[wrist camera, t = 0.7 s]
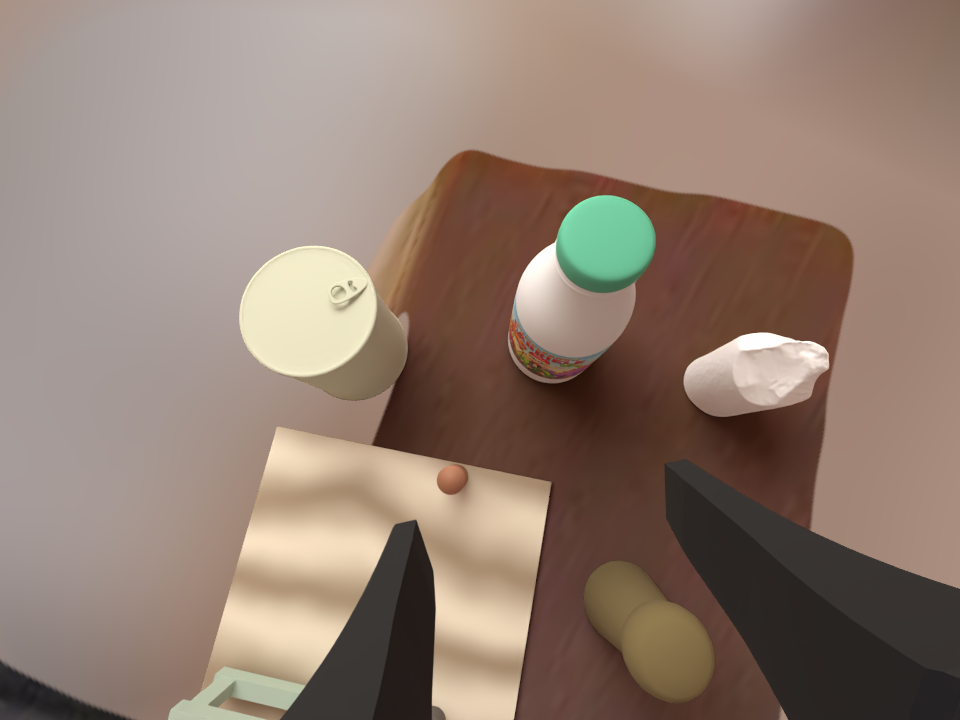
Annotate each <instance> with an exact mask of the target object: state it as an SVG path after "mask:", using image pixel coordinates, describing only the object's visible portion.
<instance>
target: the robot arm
mask: <svg viewBox="0 0 960 720" xmlns="http://www.w3.org/2000/svg"><path fill="white" fill-rule="evenodd" d="M665 493H666V519H667V521H668V523H669V525H670V526H671V528H672V530H673V532H674V534H675V536H676V538H677V540H678V542H679V544H680V545H681V547H682V549H683V551H684V553H685V554H686V556H687V557H688V559H689V560H690V562H691V563H692V565H693V566H694V567H695V569H696V570H697V572H698V573H699V575H700V576H701V578H702V579H703V581H704V582H705V584H706V585H707V586H708V588H709V589H710V591H711V592H712V594H713V595H714V597H715V598H716V599H717V601H718V602H719V604H720V605H721V607H722V608H723V610H724V611H725V613H726V614H727V615H728V617H729V618H730V620H731V621H732V623H733V624H734V626H735V627H736V629H737V630H738V632H739V633H740V635H741V636H742V638H743V640H744V641H745V643H746V644H747V646H748V648H749V650H750V651H751V653H752V655H753V657H754V658H755V660H756V662H757V664H758V665H759V667H760V669H761V671H762V672H763V674H764V676H765V678H766V679H767V681H768V683H769V685H770V687H771V688H772V690H773V692H774V694H775V696H776V698H777V699H778V701H779V703H780V705H781V707H782V709H783V710H784V712H785V714H786V716H787V718H788V720H960V589H958V588H955V587H952V586H949V585H946V584H943V583H940V582H937V581H934V580H931V579H928V578H925V577H922V576H919V575H916V574H913V573H911V572H908V571H905V570H902V569H899V568H897V567H894V566H892V565H889V564H887V563H884V562H881V561H879V560H876V559H873V558H871V557H868V556H866V555H863V554H861V553H859V552H856V551H854V550H852V549H849V548H847V547H845V546H842V545H840V544H838V543H836V542H834V541H831V540H829V539H827V538H825V537H823V536H820V535H818V534H816V533H814V532H812V531H810V530H808V529H806V528H804V527H802V526H800V525H798V524H796V523H794V522H792V521H790V520H788V519H786V518H784V517H782V516H780V515H779V514H777V513H775V512H773V511H771V510H769V509H768V508H766V507H764V506H762V505H760V504H759V503H757V502H755V501H753V500H752V499H750V498H748V497H747V496H745V495H743V494H741V493H740V492H738V491H736V490H735V489H733V488H731V487H730V486H728V485H727V484H725V483H723V482H722V481H720V480H718V479H717V478H715V477H714V476H712V475H710V474H709V473H707V472H706V471H704V470H702V469H701V468H699V467H698V466H696V465H694V464H693V463H691V462H689V461H688V460H686V459H684V460H680V461H675V462H671V463H666V464H665ZM435 618H436V601H435V585H434V571H433V568H432V565H431V562H430V559H429V556H428V553H427V550H426V547H425V544H424V541H423V538H422V535H421V532H420V529H419V526H418V523H417V520H412V521H407V522H403V523H398V524H395V525H394V527H393V528H392V531H391V533H390V535H389V538H388V540H387V543H386V545H385V547H384V550H383V552H382V554H381V556H380V559H379V561H378V563H377V565H376V567H375V569H374V571H373V574H372V576H371V578H370V580H369V582H368V584H367V586H366V588H365V590H364V592H363V594H362V596H361V598H360V599H359V601H358V603H357V605H356V607H355V609H354V610H353V612H352V614H351V616H350V618H349V619H348V621H347V623H346V625H345V626H344V628H343V630H342V632H341V633H340V635H339V637H338V638H337V640H336V641H335V643H334V645H333V646H332V648H331V649H330V651H329V652H328V654H327V655H326V657H325V659H324V660H323V662H322V663H321V665H320V666H319V667H318V669H317V670H316V672H315V673H314V675H313V676H312V677H311V679H310V680H309V682H308V683H307V684H306V686H305V687H304V689H303V690H302V692H301V693H300V694H299V696H298V697H297V698H296V700H295V701H294V702H293V704H292V705H291V706H290V707H289V709H288V710H287V711H286V712H285V714H284V715H283V716H282V717H281V719H280V720H432V687H433V665H434V642H435Z"/></svg>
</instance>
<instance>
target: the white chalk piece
mask: <svg viewBox="0 0 960 720" xmlns="http://www.w3.org/2000/svg"><path fill="white" fill-rule="evenodd" d="M828 359H829V354H828V352H827V351H826V349H825V348H824V347H822V346H820V345H818V344H816V343H814V342H810V341H804V342H801V341H795V340H793V339H790V338H786V337H782V336H779V335H775V334H771V333H753V334H747V335H743V336H740V337H738V338H736V339H735V340H733V341H731V342H729V343H728V344H726V345H724V346H722V347H720V348H718V349H716V350H715V351H713V352H711V353H709V354H707V355H705V356H702V357H700V358H698V359H696V360H695V361H693V362H692V363H691V364H690V365H689V366H688V367H687V369H686V372H685V375H684V389H685V392H686V394H687V396H688V397H689V399H690V400H691V401H692V402H693V404H694V405H696V406H697V407H698V408H699V409H700V410H702V411H703V412H705V413H707V414H709V415H712V416H717V417H729V416H735V415H740V414H745V413H751V412H757V411H762V410H770V409H775V408H779V407H784V406H788V405H793V404H795V403H798V402H802V401H804V400H806V399H808V398H810V396H811V395H812V390H813V386H814V383H815V381H816V379H817V378H818V376H819V375H820V374H821V373H823V372H825V371H826V370H828V369H829V360H828Z"/></svg>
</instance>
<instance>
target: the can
mask: <svg viewBox="0 0 960 720" xmlns="http://www.w3.org/2000/svg"><path fill="white" fill-rule="evenodd" d="M239 321H240V329H241V333H242V336H243V340H244V342H245V344H246V346H247V347H248V350H249V351H250V352H251V354H252V355H253V356H254V357H255V358H256V359H257V360H258V361H259V362H260V363H261V364H262V365H264V366H265V367H266V368H268V369H270V370H272V371H273V372H276V373H278V374H280V375H284V376H288V377H292V378H295V379H297V380H300V381H303V382H305V383H308V384H310V385H313V386H315V387H318V388H321V389H322V390H324V391H325V392H327V393H328V394H330V395H332V396H334V397H336V398H340V399H344V400H364V399H368V398H371V397H374V396H376V395H378V394H380V393H382V392H384V391H385V390H386V389H388V388H389V387H390V386H391V385H392V384H393V383H394V382H395V381H396V380H397V378H398V377H399V375H400V374H401V372H402V370H403V368H404V366H405V363H406V359H407V353H408V342H407V337H406V333H405V330H404V328H403V326H402V324H401V323H400V321H399V320H398V318H397V317H396V316H395V315H394V314H393V313H392V312H391V311H390V310H389V308H388V307H387V305H386V304H385V302H384V301H383V299H382V298H381V296H380V295H379V293H378V291H377V290H376V288H375V287H374V284H373V282H372V280H371V278H370V276H369V275H368V273H367V272H366V270H365V269H364V268H363V267H362V266H361V265H360V264H359V263H358V262H357V261H356V260H355V259H353V258H352V257H351V256H349V255H347V254H345V253H343V252H341V251H339V250H336V249H333V248H329V247H323V246H306V247H299V248H295V249H291V250H288V251H286V252H284V253H282V254H279V255H278V256H276V257H274V258H273V259H271V260H270V261H268V262H267V263H266V264H265V265H264V266H262V267H261V268H260V269H259V270H258V271H257V273H256V274H255V275H254V276H253V278H252V279H251V281H250V282H249V284H248V286H247V288H246V290H245V292H244V294H243V297H242V301H241V305H240V313H239Z"/></svg>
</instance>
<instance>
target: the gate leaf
mask: <svg viewBox="0 0 960 720" xmlns="http://www.w3.org/2000/svg"><path fill="white" fill-rule="evenodd" d="M304 687H305V685H301V684H297V683H293V682H289V681H284V680H280V679H276V678H272V677H267V676H263V675H259V674H255V673H250V672H246V671H242V670H238V669H233V668H229V667H223V668H222V669H221V670H219V671H218V672H217V673H216V674H215V677H214V680H213V683H212V684H210V685H209V686H208V687H207V688H205V689H204V690H203V691H202V692H201V693H199V694H198V695H197V696H196V697H195V698H193V699H192V700H191V701H188V700H182V701H181V702H180V703H178V704H177V705H176V706H174V707H173V708H172V709H171V711H170V714H169V718H168V720H266V719H262V718H258V717H254V716H250V715H246V714H242V713H237V712H233V711H229V710H225V709H221V708H218V707H219V706H220V705H221V704H222V703H223V702H224V701H226V700H227V699H228V698H229V697H234V698H239V699H243V700H247V701H251V702H255V703H259V704H264V705H268V706H272V707H276V708H280V709H284V710H288V709H289V707H290V706H291V705H292V704H293V702H294V701H295V700H296V698H297V697H298V696H299V694H300V693H301V692H302V690H303V689H304Z"/></svg>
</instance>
